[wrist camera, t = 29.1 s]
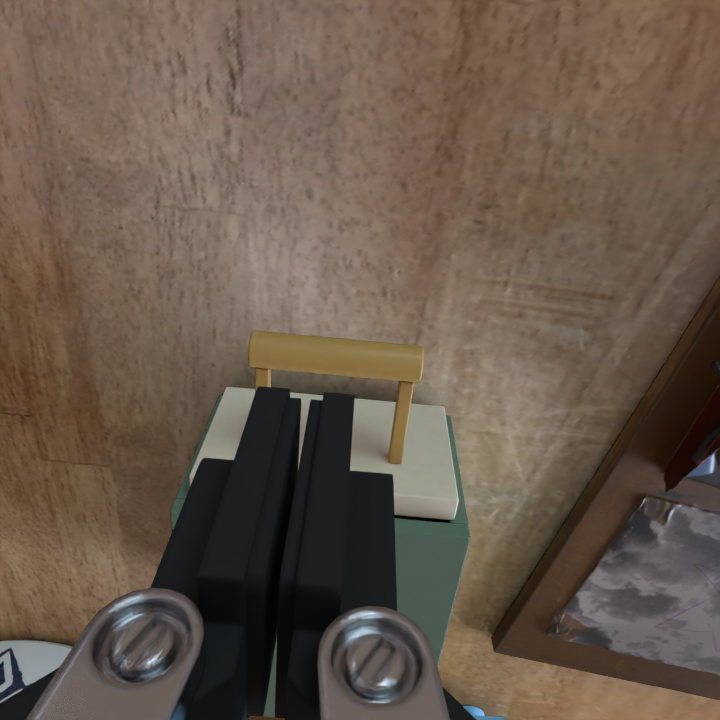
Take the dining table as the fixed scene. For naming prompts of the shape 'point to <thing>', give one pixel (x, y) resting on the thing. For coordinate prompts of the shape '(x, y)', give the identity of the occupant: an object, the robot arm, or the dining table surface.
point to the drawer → (356, 416)
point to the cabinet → (404, 564)
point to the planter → (27, 663)
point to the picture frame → (641, 542)
